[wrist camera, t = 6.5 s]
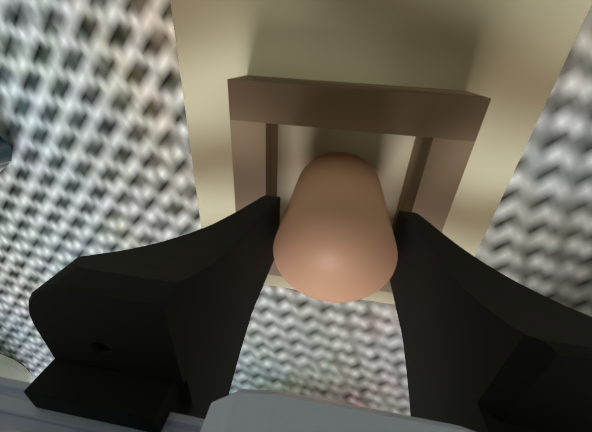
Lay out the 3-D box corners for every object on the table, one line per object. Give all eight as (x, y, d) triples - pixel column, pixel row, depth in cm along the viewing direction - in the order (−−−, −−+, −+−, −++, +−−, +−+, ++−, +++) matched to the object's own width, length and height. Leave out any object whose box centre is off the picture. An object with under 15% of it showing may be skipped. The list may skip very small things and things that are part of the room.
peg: (372, 233, 14) (382, 310, 10) (294, 223, 15) (272, 293, 10) (389, 156, 12) (412, 211, 8) (298, 147, 13) (273, 195, 8)
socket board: (443, 300, 19) (462, 347, 16) (213, 266, 21) (191, 303, 18) (575, 1, 11) (663, -19, 8) (180, -14, 13) (127, -34, 10)
